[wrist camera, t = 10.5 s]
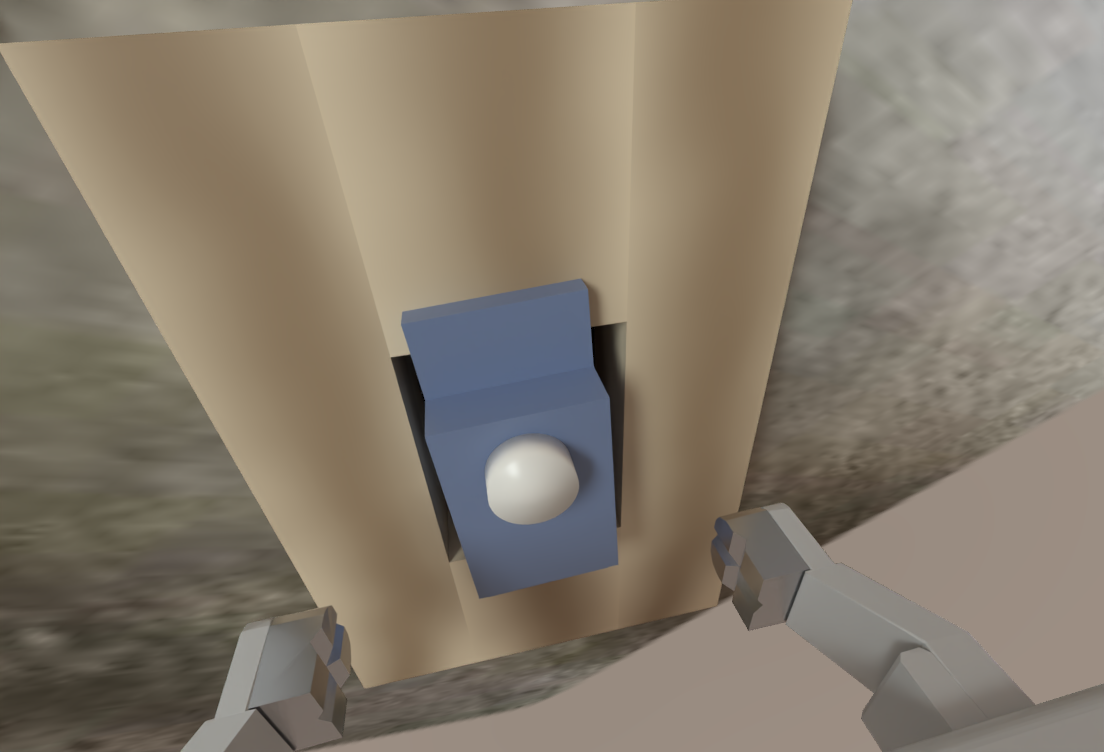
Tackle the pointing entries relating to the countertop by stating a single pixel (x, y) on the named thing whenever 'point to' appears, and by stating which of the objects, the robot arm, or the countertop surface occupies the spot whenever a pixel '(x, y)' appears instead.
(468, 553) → the block
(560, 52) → the wooden board with hole
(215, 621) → the countertop surface
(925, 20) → the countertop surface
